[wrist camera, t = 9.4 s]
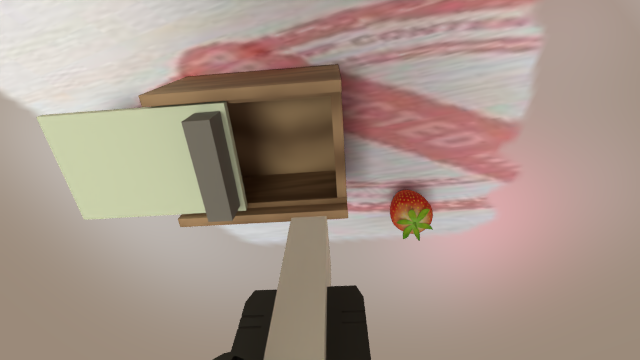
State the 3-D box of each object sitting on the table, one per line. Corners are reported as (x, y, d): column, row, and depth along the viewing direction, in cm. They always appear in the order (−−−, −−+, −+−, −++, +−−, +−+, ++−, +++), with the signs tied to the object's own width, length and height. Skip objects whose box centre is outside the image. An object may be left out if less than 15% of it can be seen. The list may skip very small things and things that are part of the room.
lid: (42, 114, 31) (8, 126, 28) (226, 100, 30) (213, 111, 27) (88, 215, 36) (63, 235, 33) (247, 206, 35) (239, 226, 32)
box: (187, 76, 39) (138, 95, 29) (338, 64, 38) (341, 79, 28) (213, 181, 45) (180, 227, 35) (344, 173, 44) (348, 218, 34)
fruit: (430, 194, 45) (450, 227, 38) (403, 218, 47) (417, 254, 40) (402, 171, 44) (417, 201, 36) (376, 197, 46) (384, 231, 38)
